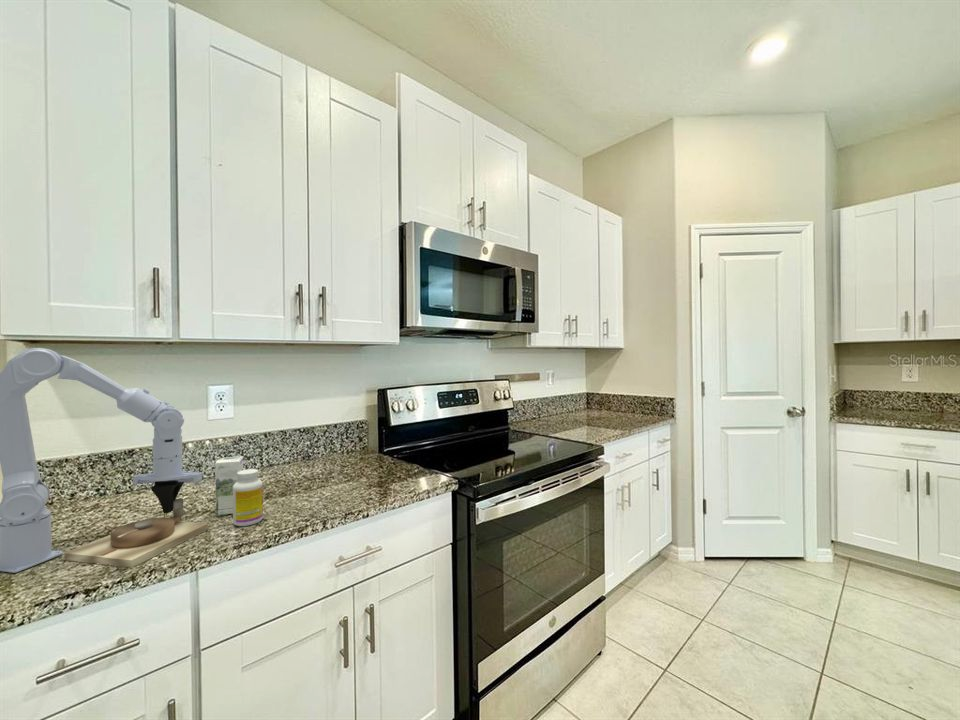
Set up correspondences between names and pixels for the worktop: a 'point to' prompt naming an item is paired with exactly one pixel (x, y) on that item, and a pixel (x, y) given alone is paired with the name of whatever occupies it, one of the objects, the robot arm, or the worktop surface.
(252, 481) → the supplement bottle
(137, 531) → the crank dial
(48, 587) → the worktop surface
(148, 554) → the wooden cutting board
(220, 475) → the syrup box
